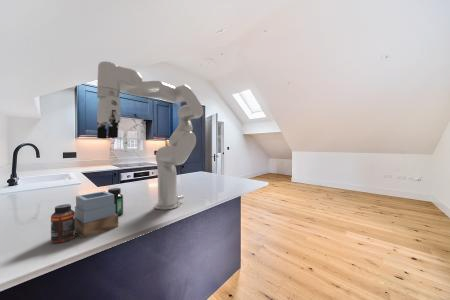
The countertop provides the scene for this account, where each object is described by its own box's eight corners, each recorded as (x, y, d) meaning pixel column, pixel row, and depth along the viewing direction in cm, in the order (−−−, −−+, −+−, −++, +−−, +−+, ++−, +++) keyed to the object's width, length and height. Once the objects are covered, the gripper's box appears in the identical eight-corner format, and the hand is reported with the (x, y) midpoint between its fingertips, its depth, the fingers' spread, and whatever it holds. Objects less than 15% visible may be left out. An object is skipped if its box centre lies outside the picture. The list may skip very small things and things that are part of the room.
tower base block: (105, 221, 75) (105, 209, 75) (118, 227, 69) (118, 214, 69) (73, 230, 66) (72, 217, 66) (83, 239, 60) (83, 224, 60)
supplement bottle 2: (123, 216, 80) (123, 189, 80) (105, 219, 76) (105, 191, 76) (122, 211, 85) (122, 186, 85) (105, 214, 81) (105, 188, 81)
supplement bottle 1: (79, 234, 62) (79, 202, 62) (64, 243, 56) (64, 208, 56) (62, 235, 62) (62, 203, 62) (45, 244, 56) (45, 208, 56)
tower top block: (104, 209, 75) (104, 190, 75) (115, 214, 69) (115, 194, 69) (74, 217, 67) (74, 196, 67) (83, 223, 61) (83, 200, 61)
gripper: (129, 94, 69) (128, 137, 68) (109, 101, 78) (107, 139, 78) (108, 87, 62) (106, 136, 62) (89, 96, 72) (87, 138, 72)
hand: (107, 137), depth 70 cm, fingers open, 9 cm apart
